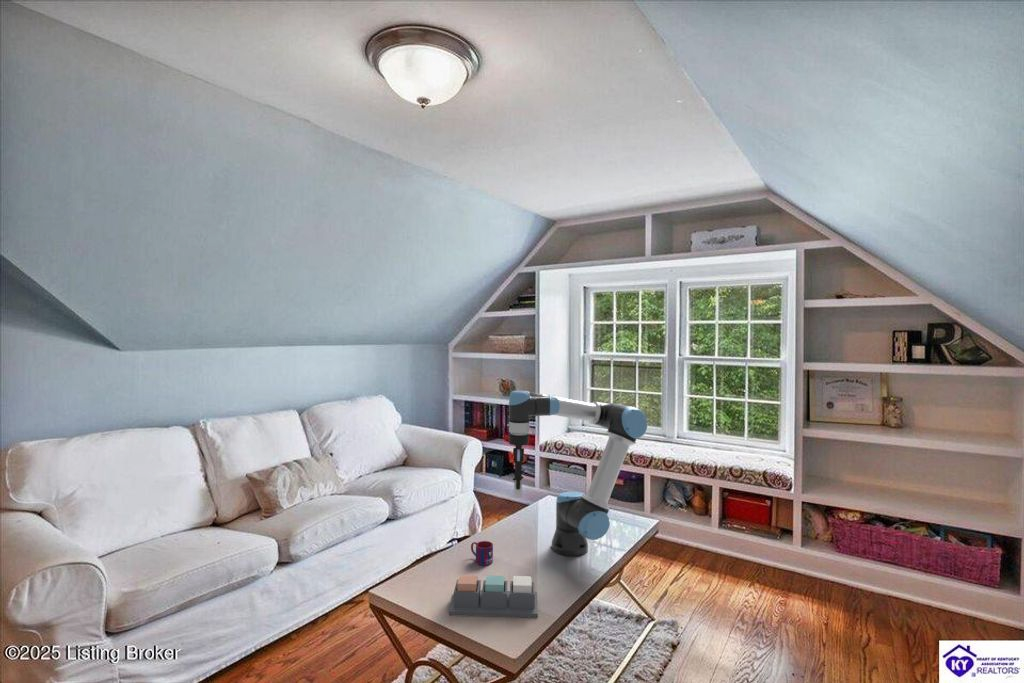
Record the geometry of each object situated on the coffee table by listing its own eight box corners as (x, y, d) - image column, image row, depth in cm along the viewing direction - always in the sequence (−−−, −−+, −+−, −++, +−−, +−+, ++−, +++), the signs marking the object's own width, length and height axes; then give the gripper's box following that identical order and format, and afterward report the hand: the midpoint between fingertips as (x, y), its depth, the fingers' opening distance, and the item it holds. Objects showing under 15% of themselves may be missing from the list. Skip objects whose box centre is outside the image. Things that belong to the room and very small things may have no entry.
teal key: (504, 591, 161) (504, 575, 161) (503, 600, 155) (503, 584, 155) (486, 590, 161) (486, 575, 161) (484, 600, 155) (485, 584, 155)
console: (536, 595, 164) (536, 577, 164) (537, 617, 151) (538, 598, 151) (454, 593, 165) (455, 575, 165) (449, 615, 152) (449, 596, 152)
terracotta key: (477, 590, 161) (477, 574, 161) (475, 600, 155) (475, 584, 155) (459, 589, 161) (459, 574, 161) (457, 599, 155) (457, 583, 155)
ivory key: (531, 591, 161) (531, 576, 161) (531, 601, 155) (531, 585, 155) (513, 591, 161) (513, 575, 161) (512, 601, 155) (513, 585, 155)
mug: (483, 567, 183) (484, 549, 183) (466, 559, 190) (466, 541, 190) (496, 561, 188) (496, 544, 188) (479, 553, 195) (479, 537, 195)
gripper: (509, 429, 183) (508, 491, 183) (508, 436, 170) (507, 503, 170) (528, 429, 183) (527, 491, 183) (529, 437, 170) (528, 503, 170)
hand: (517, 497), depth 176 cm, fingers closed
